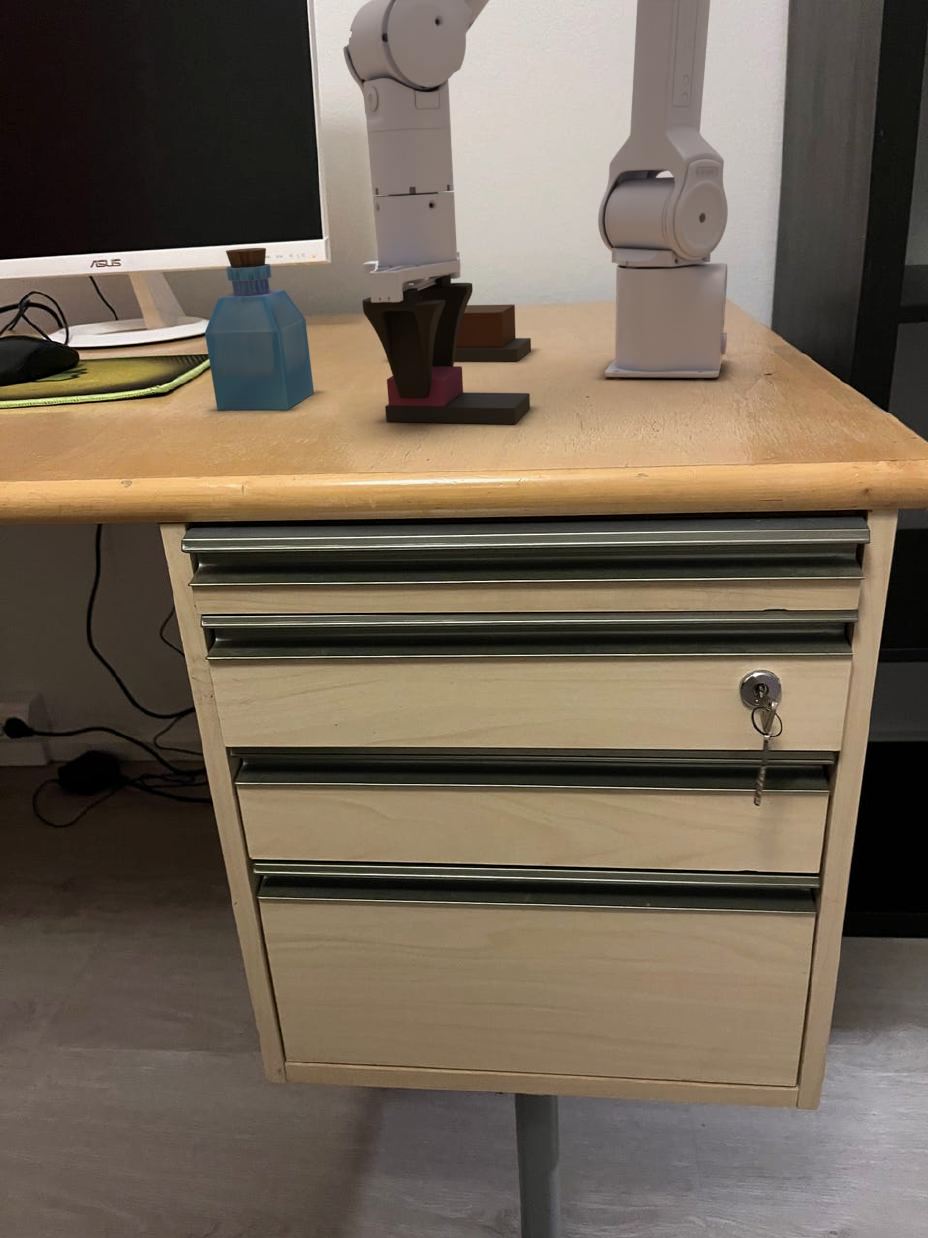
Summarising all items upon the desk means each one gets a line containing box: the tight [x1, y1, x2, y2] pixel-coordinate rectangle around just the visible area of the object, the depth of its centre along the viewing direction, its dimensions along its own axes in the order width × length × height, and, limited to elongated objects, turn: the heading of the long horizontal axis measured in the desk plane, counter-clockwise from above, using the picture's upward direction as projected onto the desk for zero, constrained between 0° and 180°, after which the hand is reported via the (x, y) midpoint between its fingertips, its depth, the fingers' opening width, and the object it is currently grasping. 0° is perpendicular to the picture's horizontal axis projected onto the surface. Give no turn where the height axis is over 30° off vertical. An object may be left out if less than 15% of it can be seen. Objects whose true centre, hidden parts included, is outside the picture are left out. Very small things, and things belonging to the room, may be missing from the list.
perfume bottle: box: [204, 247, 315, 411], centre depth 78 cm, size 6×6×12 cm
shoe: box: [454, 304, 532, 362], centre depth 95 cm, size 13×6×4 cm, turn 74°
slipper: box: [384, 365, 531, 425], centre depth 72 cm, size 10×5×3 cm, turn 74°
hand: (426, 389), depth 73 cm, fingers closed on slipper, 5 cm apart
